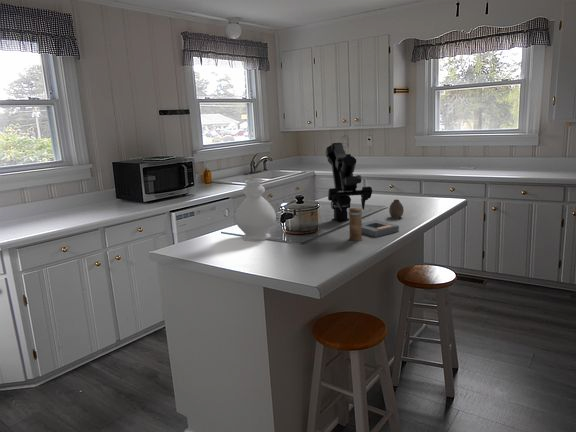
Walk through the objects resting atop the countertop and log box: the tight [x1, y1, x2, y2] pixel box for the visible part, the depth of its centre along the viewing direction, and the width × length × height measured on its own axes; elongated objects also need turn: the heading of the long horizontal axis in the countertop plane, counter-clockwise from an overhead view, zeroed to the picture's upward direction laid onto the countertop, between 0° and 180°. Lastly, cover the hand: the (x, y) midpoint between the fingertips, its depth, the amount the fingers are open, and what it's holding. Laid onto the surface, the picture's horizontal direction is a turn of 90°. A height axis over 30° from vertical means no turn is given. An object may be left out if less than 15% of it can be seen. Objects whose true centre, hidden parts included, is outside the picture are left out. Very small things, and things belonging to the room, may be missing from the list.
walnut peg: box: [348, 207, 363, 242], centre depth 193 cm, size 5×5×13 cm
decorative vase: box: [234, 179, 277, 242], centre depth 201 cm, size 18×18×25 cm
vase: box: [388, 198, 404, 219], centre depth 228 cm, size 7×7×9 cm
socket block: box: [362, 219, 400, 238], centre depth 205 cm, size 14×14×3 cm
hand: (352, 209), depth 197 cm, fingers open, 9 cm apart
